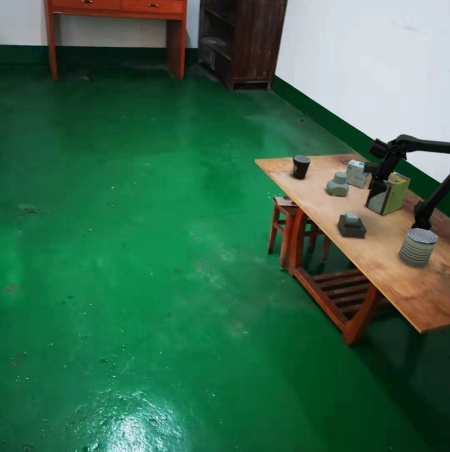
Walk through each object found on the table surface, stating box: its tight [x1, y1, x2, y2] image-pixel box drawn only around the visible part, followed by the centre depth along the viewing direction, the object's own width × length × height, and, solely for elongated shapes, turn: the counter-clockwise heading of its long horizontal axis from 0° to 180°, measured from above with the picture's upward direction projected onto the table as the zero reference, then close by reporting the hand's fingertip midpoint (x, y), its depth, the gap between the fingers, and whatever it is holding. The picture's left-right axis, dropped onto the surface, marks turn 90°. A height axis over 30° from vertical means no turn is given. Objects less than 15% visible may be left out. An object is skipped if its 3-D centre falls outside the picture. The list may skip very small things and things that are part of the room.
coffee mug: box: [292, 154, 312, 180], centre depth 236 cm, size 12×9×10 cm
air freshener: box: [326, 171, 350, 196], centre depth 223 cm, size 11×8×10 cm
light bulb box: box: [344, 159, 370, 189], centre depth 234 cm, size 11×7×11 cm, turn 58°
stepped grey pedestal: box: [337, 214, 367, 239], centre depth 195 cm, size 10×10×6 cm
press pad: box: [344, 211, 359, 223], centre depth 193 cm, size 4×4×2 cm
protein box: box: [364, 171, 411, 216], centre depth 214 cm, size 10×15×16 cm
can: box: [398, 228, 439, 268], centre depth 180 cm, size 11×11×12 cm
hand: (368, 193), depth 195 cm, fingers open, 9 cm apart
